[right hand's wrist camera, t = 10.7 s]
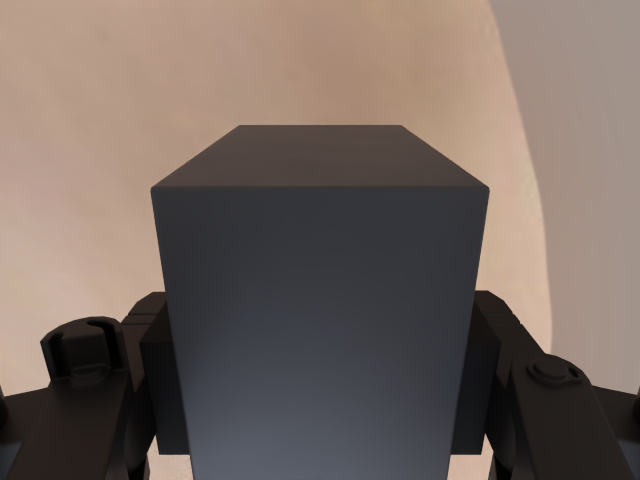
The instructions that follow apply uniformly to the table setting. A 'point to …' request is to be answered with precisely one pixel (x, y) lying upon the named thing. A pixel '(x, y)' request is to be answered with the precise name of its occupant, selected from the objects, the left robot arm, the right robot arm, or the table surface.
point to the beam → (320, 301)
